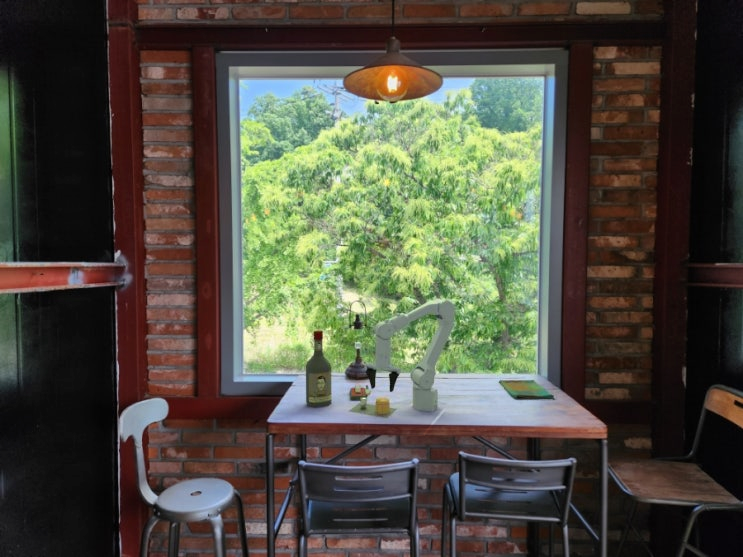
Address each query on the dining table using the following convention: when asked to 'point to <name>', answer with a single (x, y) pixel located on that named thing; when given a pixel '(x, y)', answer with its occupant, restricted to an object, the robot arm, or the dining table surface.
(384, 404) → the cap
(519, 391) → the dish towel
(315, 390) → the liquor
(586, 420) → the dining table surface
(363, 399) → the post
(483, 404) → the dining table surface
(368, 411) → the board
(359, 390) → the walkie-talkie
